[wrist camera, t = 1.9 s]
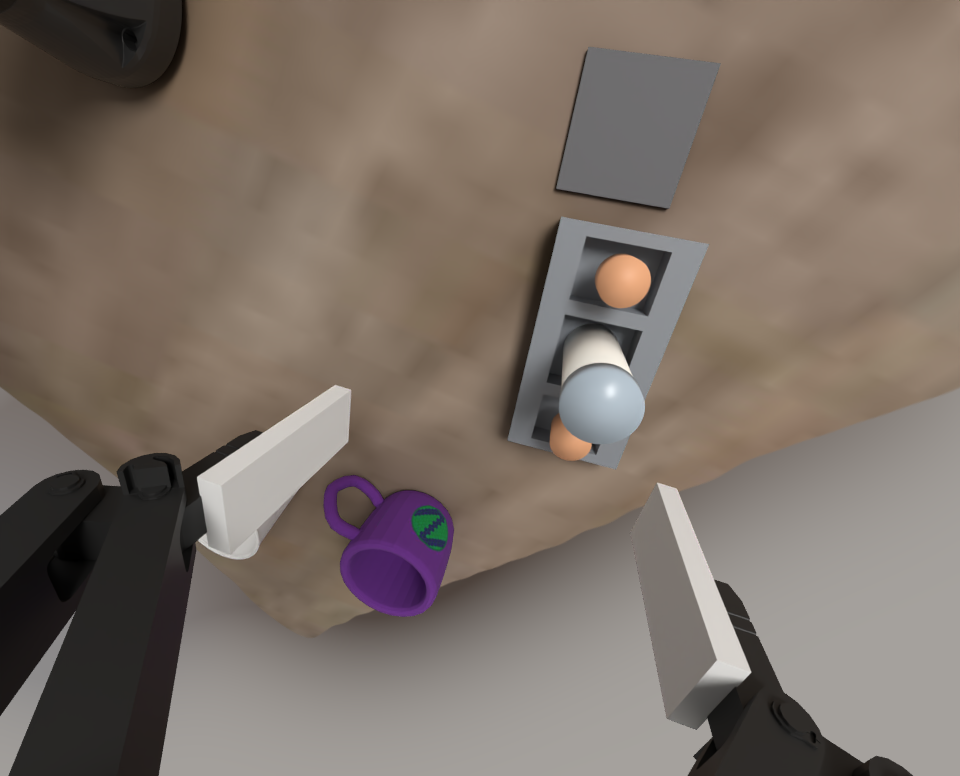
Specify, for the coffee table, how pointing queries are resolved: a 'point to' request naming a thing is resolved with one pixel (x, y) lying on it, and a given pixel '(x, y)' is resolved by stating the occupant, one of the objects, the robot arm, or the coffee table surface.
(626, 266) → the orange oval ball
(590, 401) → the cylinder
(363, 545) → the mug
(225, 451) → the robot arm
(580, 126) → the mat
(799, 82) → the coffee table surface
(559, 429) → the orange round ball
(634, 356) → the tray
